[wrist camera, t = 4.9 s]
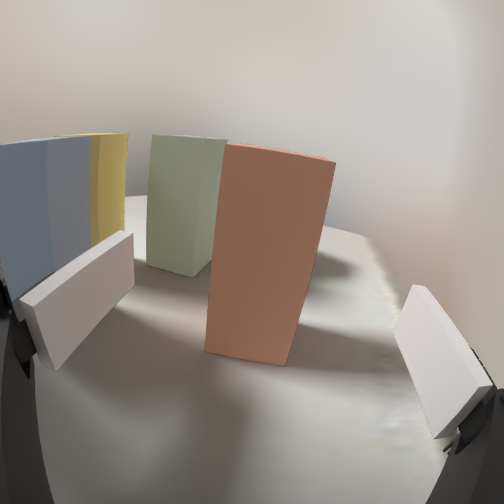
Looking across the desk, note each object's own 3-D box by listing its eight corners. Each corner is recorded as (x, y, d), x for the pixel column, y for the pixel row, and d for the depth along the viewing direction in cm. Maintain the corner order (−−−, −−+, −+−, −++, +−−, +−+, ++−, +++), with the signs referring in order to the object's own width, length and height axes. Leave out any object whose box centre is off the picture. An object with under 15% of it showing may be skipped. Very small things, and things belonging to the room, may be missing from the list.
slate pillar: (17, 322, 14) (-10, 146, 10) (48, 288, 19) (36, 138, 14) (70, 338, 15) (47, 140, 10) (97, 298, 19) (91, 135, 15)
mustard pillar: (60, 268, 22) (54, 136, 17) (85, 248, 26) (85, 133, 22) (102, 278, 22) (100, 134, 17) (125, 255, 27) (128, 133, 22)
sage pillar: (146, 264, 26) (152, 134, 21) (171, 247, 30) (180, 135, 26) (192, 278, 25) (206, 138, 20) (213, 257, 29) (227, 139, 25)
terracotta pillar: (204, 351, 17) (225, 144, 12) (221, 308, 21) (241, 143, 17) (284, 366, 16) (335, 162, 12) (286, 320, 21) (321, 157, 16)
